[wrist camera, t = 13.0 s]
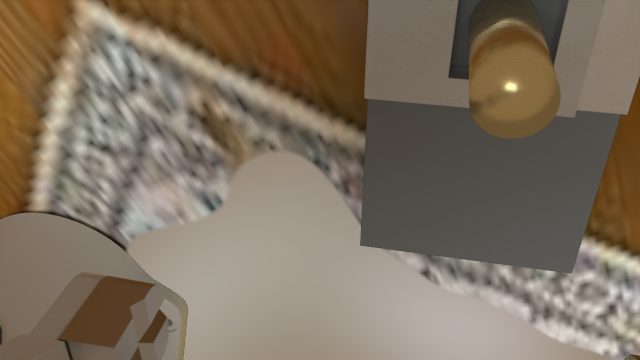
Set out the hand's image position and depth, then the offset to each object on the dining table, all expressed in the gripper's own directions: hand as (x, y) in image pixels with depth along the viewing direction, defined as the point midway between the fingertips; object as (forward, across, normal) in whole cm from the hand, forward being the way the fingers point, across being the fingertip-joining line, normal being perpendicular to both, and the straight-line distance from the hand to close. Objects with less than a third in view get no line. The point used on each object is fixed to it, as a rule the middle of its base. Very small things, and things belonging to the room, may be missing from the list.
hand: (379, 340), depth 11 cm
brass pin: (+20, -4, +1) cm, 21 cm away
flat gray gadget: (+20, -4, +1) cm, 20 cm away
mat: (+22, -4, +4) cm, 22 cm away
